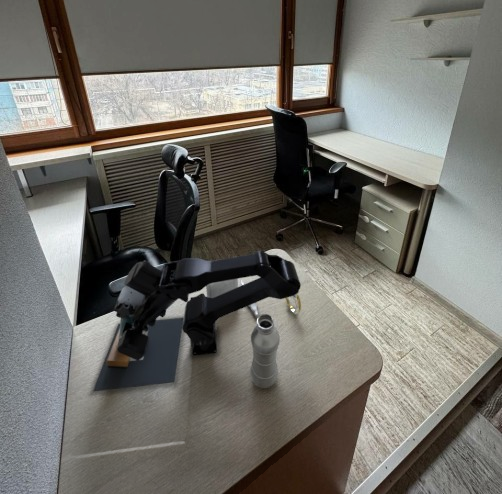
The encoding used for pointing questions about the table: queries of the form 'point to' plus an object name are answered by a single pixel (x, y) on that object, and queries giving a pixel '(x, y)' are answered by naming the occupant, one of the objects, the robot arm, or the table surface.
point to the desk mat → (147, 359)
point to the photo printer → (221, 287)
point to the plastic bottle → (264, 352)
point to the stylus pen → (252, 305)
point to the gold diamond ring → (298, 304)
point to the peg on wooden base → (115, 357)
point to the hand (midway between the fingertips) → (122, 333)
